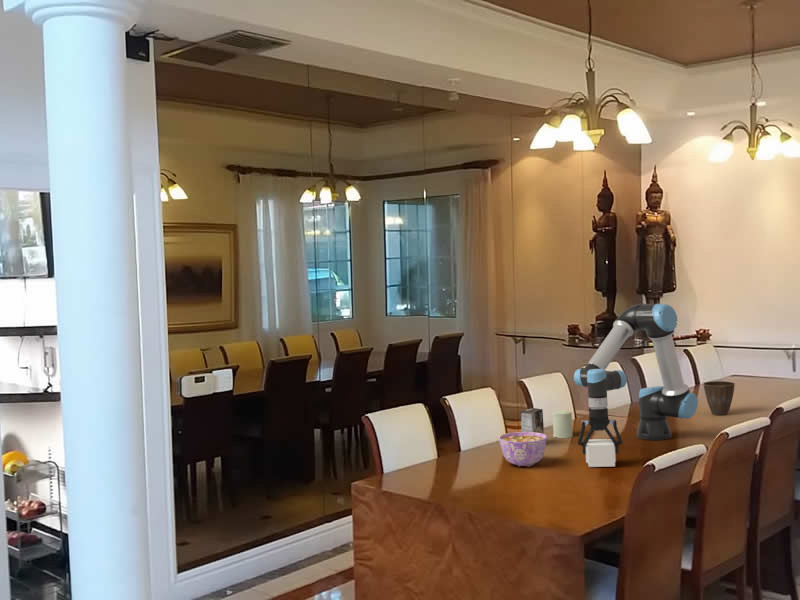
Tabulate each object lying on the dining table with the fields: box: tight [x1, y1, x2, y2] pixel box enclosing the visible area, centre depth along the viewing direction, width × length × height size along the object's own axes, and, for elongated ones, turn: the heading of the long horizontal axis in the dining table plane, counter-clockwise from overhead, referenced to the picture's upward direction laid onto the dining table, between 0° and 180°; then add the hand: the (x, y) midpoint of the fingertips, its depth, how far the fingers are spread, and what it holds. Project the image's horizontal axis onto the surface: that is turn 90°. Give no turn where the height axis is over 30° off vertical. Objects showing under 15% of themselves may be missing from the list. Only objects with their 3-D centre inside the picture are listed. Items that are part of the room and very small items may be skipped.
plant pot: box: [703, 380, 736, 417], centre depth 414 cm, size 15×15×16 cm
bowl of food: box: [498, 431, 548, 467], centre depth 336 cm, size 20×20×12 cm
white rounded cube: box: [586, 438, 616, 468], centre depth 328 cm, size 10×10×9 cm
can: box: [551, 409, 574, 439], centre depth 385 cm, size 9×9×12 cm
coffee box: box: [520, 407, 545, 434], centre depth 370 cm, size 9×6×16 cm
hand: (600, 461), depth 328 cm, fingers closed on white rounded cube, 10 cm apart
